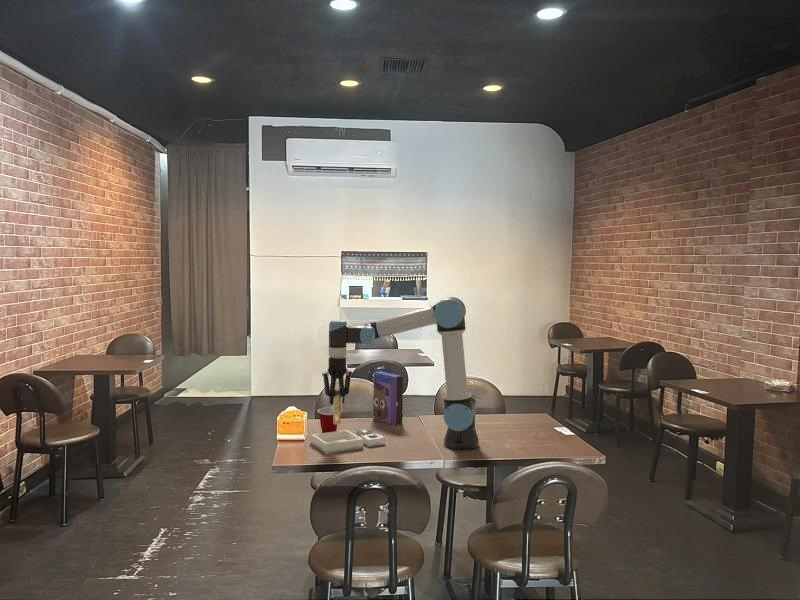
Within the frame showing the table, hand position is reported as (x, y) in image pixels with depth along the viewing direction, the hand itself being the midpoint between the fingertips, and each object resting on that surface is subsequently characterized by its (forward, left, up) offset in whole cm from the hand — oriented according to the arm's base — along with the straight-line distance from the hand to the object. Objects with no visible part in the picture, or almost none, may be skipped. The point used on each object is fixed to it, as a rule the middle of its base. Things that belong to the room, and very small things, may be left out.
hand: (336, 411), depth 263 cm
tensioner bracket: (0, -16, -15) cm, 22 cm away
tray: (0, 0, -15) cm, 15 cm away
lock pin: (0, 0, -5) cm, 5 cm away
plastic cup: (+16, -4, -15) cm, 23 cm away
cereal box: (+29, -40, -15) cm, 52 cm away
